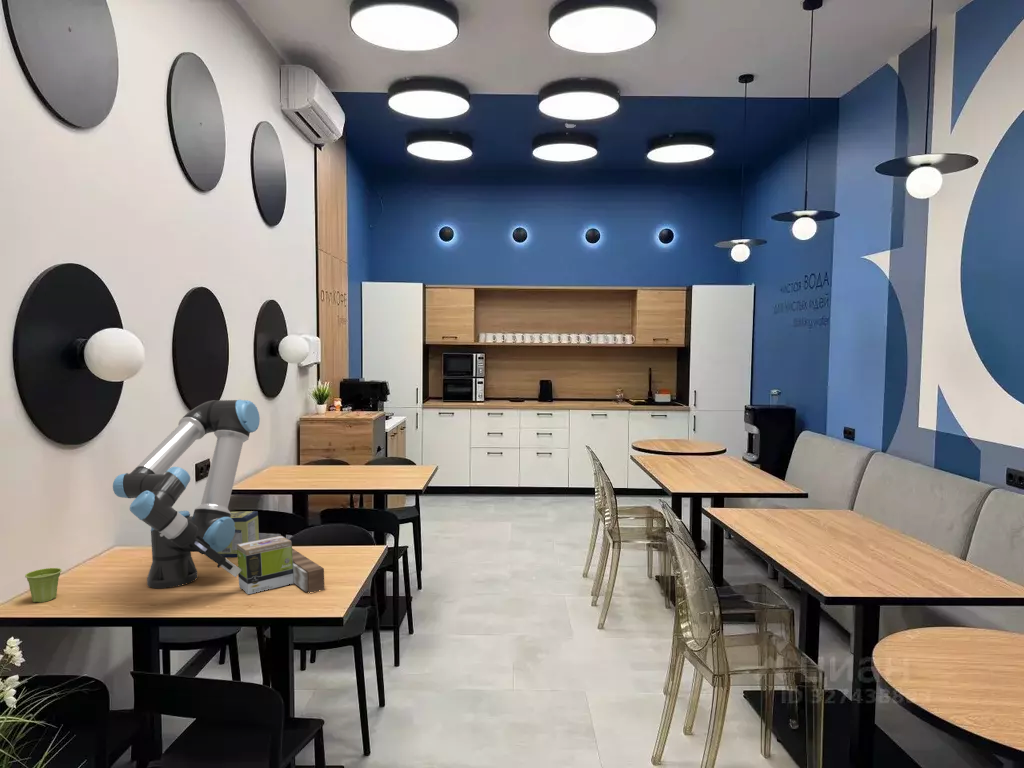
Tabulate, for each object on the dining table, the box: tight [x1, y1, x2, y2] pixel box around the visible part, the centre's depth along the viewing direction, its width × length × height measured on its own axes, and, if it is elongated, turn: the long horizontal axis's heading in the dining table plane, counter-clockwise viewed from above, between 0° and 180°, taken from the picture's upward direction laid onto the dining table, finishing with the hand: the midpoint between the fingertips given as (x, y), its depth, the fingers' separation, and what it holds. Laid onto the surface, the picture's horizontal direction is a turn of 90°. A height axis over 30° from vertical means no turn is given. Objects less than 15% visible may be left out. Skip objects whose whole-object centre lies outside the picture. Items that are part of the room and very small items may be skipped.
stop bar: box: [292, 548, 325, 594], centre depth 215 cm, size 30×6×7 cm, turn 38°
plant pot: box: [24, 567, 63, 603], centre depth 202 cm, size 9×9×9 cm
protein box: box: [218, 510, 260, 559], centre depth 248 cm, size 10×16×16 cm
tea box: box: [237, 535, 295, 595], centre depth 210 cm, size 15×10×15 cm
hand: (238, 573), depth 205 cm, fingers closed
